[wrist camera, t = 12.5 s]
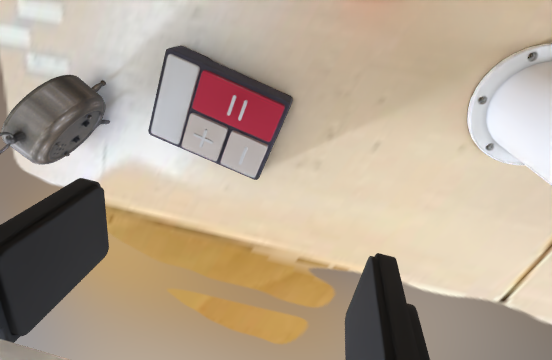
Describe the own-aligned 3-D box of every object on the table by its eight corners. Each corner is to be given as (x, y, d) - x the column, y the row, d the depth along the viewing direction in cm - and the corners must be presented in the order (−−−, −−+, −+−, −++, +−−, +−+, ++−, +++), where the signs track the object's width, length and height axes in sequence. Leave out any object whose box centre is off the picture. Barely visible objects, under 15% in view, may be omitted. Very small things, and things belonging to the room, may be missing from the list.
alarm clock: (98, 65, 41) (-31, 88, 27) (132, 96, 42) (24, 133, 28) (65, 123, 46) (-59, 168, 32) (96, 149, 47) (-12, 204, 33)
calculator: (256, 184, 40) (144, 136, 39) (262, 169, 44) (160, 125, 43) (291, 105, 35) (163, 47, 34) (294, 96, 39) (179, 44, 38)
